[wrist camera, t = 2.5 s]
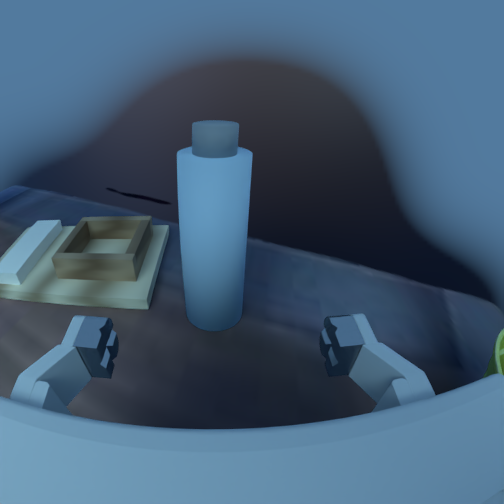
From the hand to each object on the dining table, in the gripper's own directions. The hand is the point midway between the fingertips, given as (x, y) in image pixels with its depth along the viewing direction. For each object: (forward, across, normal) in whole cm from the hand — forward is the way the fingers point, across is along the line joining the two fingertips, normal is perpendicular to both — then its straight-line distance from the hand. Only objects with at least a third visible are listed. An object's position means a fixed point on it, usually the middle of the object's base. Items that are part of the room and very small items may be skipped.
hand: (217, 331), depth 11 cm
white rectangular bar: (+19, +24, +9) cm, 32 cm away
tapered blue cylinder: (+12, +1, +10) cm, 16 cm away
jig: (+19, +18, +10) cm, 28 cm away
